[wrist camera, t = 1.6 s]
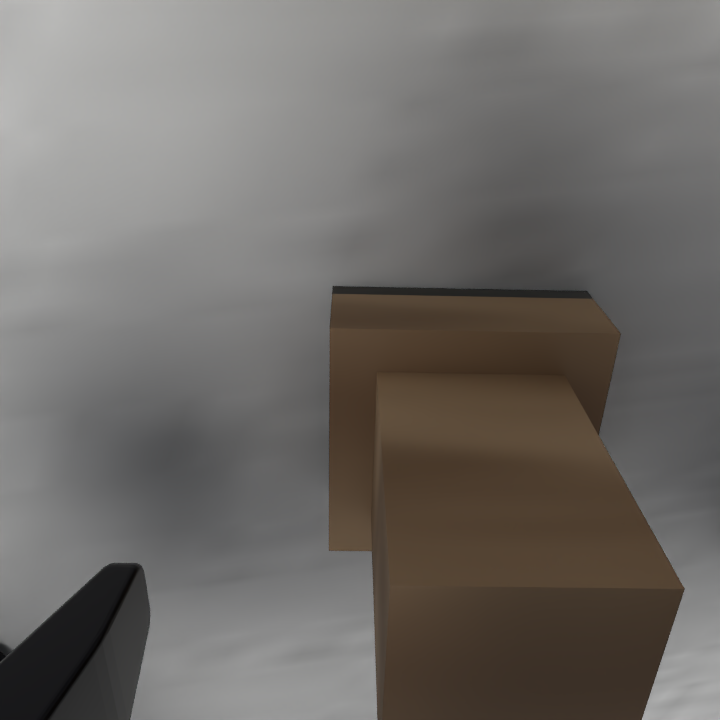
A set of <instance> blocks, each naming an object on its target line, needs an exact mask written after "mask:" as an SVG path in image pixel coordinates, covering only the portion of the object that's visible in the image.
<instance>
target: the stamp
mask: <svg viewBox="0 0 720 720" xmlns="http://www.w3.org/2000/svg"><path fill="white" fill-rule="evenodd" d="M620 335H621V333H620V332H619V331H618V329H617V328H616V327H615V326H614V324H613V323H612V322H611V321H610V319H609V318H608V317H607V316H606V314H605V313H604V312H603V311H602V309H601V308H600V307H599V306H598V304H597V303H596V302H595V301H594V299H593V298H592V297H591V296H590V294H589V293H588V292H587V291H555V290H502V289H449V288H396V287H343V286H333V291H332V305H331V319H330V402H329V551H372V565H373V595H374V626H375V656H376V687H377V717H378V720H642V717H643V714H644V711H645V708H646V705H647V701H648V698H649V695H650V692H651V689H652V686H653V683H654V680H655V677H656V674H657V671H658V668H659V665H660V662H661V659H662V656H663V653H664V650H665V647H666V644H667V641H668V638H669V635H670V632H671V629H672V626H673V623H674V620H675V617H676V614H677V611H678V608H679V604H680V601H681V598H682V595H683V592H684V587H683V585H682V583H681V582H680V580H679V578H678V576H677V575H676V573H675V571H674V569H673V567H672V566H671V564H670V562H669V560H668V558H667V557H666V555H665V553H664V551H663V550H662V548H661V546H660V544H659V542H658V541H657V539H656V537H655V535H654V533H653V532H652V530H651V528H650V526H649V525H648V523H647V521H646V519H645V517H644V516H643V514H642V512H641V510H640V509H639V507H638V505H637V503H636V501H635V500H634V498H633V496H632V494H631V492H630V491H629V489H628V487H627V485H626V484H625V482H624V480H623V478H622V476H621V475H620V473H619V471H618V469H617V467H616V466H615V464H614V462H613V460H612V459H611V457H610V455H609V453H608V451H607V450H606V448H605V446H604V444H603V443H602V441H601V439H600V437H599V431H600V426H601V422H602V417H603V413H604V408H605V403H606V399H607V394H608V390H609V385H610V381H611V376H612V372H613V367H614V363H615V358H616V353H617V349H618V344H619V340H620Z"/></svg>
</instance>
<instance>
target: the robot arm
mask: <svg viewBox="0 0 720 720" xmlns="http://www.w3.org/2000/svg"><path fill="white" fill-rule="evenodd" d="M149 624H150V605H149V599H148V593H147V587H146V580H145V574H144V570H143V568H142V566H141V565H140V564H137V563H111V564H109V565H107V566H105V567H104V568H103V569H102V570H101V571H99V572H98V573H97V574H96V575H95V576H94V577H93V578H92V579H91V580H90V581H88V582H87V583H86V584H85V585H84V586H83V587H82V588H81V589H80V590H79V591H78V592H76V593H75V594H74V595H73V596H72V597H71V598H70V599H69V600H68V601H67V602H65V603H64V604H63V605H62V606H61V607H60V608H59V609H58V610H57V611H56V612H55V613H53V614H52V615H51V616H50V617H49V618H48V619H47V620H46V621H45V622H44V623H42V624H41V625H40V626H39V627H38V628H37V629H36V630H35V631H34V632H33V633H32V634H30V635H29V636H28V637H27V638H26V639H25V640H24V641H23V642H22V643H21V644H20V645H18V646H17V647H16V648H15V649H14V650H13V651H12V652H11V653H10V654H9V655H7V656H5V655H4V654H2V653H1V652H0V720H130V718H131V713H132V708H133V703H134V698H135V693H136V689H137V684H138V679H139V674H140V669H141V664H142V659H143V655H144V650H145V645H146V640H147V635H148V630H149Z"/></svg>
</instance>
